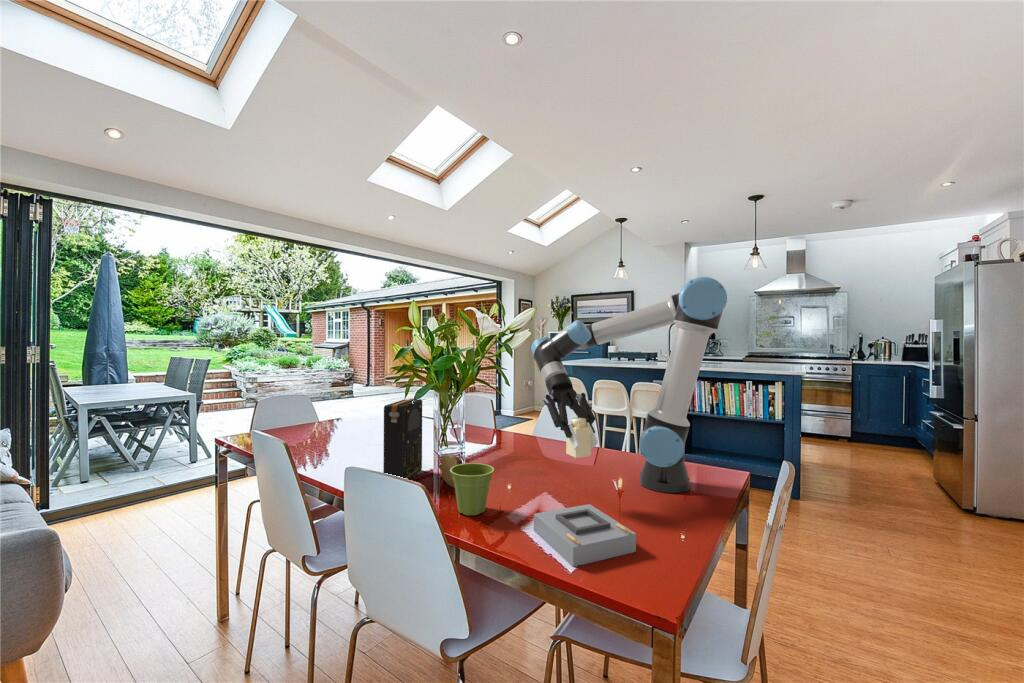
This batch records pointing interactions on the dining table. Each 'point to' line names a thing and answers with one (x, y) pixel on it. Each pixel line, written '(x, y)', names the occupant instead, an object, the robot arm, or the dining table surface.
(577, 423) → the dome-topped cream pillar
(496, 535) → the dining table surface
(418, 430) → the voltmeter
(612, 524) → the ball-topped post base
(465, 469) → the plant pot
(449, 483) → the wooden carving
